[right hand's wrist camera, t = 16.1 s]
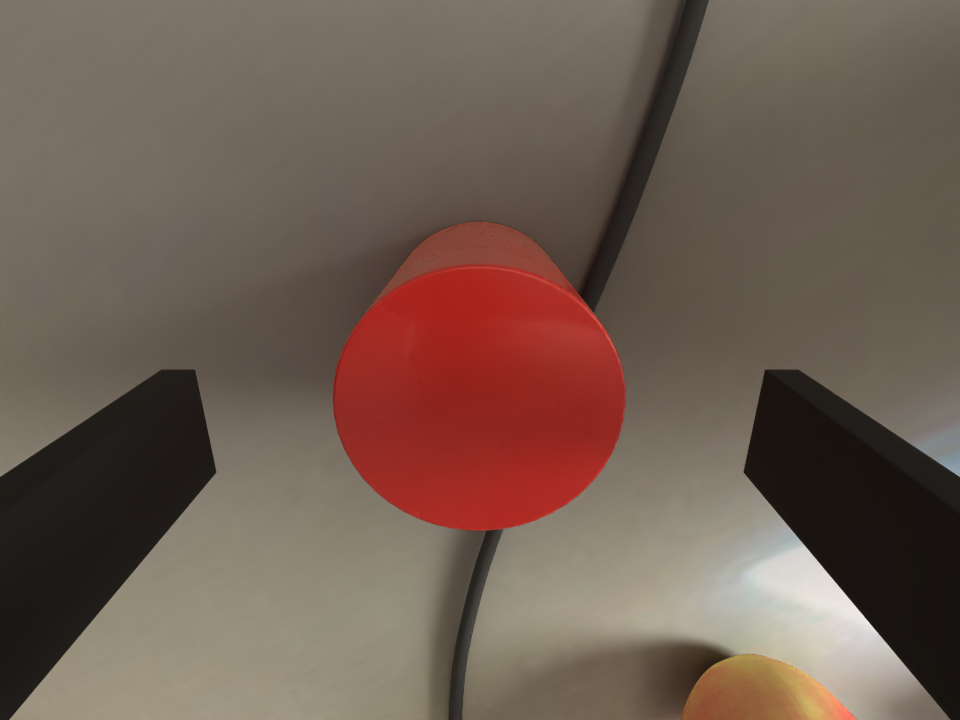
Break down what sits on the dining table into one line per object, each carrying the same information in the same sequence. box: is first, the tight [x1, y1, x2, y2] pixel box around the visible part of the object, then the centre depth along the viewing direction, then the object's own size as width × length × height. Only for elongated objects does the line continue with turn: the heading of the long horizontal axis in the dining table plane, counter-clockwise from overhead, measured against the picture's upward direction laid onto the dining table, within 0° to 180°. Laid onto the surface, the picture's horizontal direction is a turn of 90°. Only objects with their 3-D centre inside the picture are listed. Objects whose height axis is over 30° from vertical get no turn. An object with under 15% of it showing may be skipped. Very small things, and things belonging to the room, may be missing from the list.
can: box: [333, 222, 625, 531], centre depth 19 cm, size 8×8×10 cm
